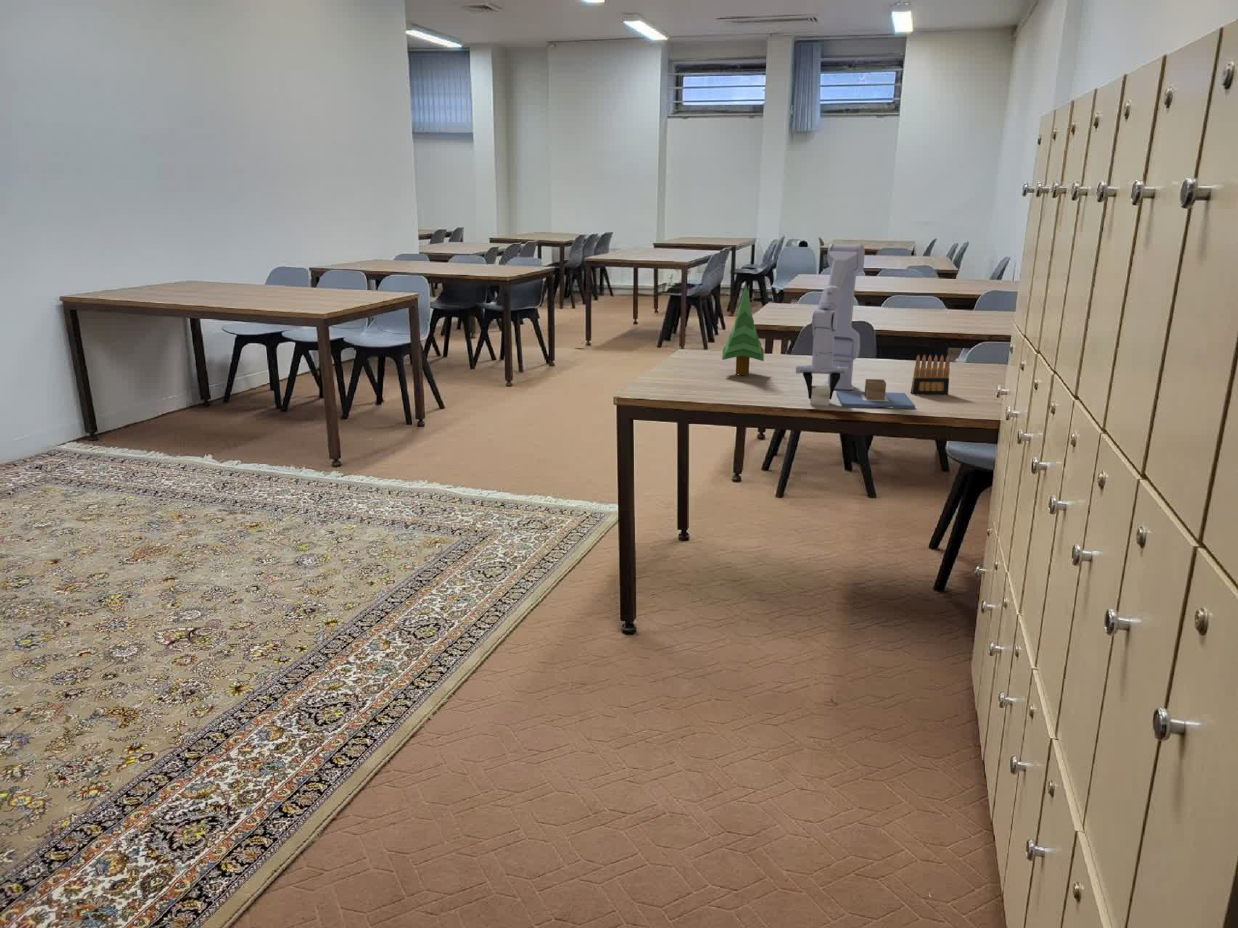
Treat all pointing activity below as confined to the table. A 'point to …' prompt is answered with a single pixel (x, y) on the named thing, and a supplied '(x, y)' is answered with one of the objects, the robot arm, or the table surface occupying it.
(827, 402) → the off-white block
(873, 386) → the walnut block
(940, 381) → the ammunition clip
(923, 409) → the table surface
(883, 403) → the board
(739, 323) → the decorative tree
